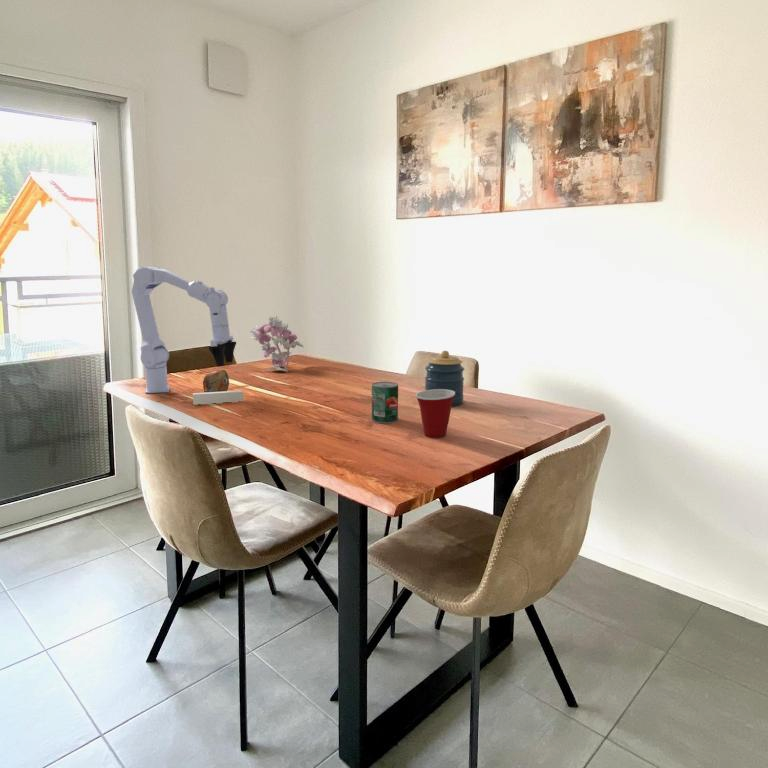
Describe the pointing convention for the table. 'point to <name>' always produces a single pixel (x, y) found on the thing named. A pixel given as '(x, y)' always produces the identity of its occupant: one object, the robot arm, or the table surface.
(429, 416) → the plastic cup
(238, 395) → the board
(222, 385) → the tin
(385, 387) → the canned tomato
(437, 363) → the canister
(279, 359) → the flower
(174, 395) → the table surface
